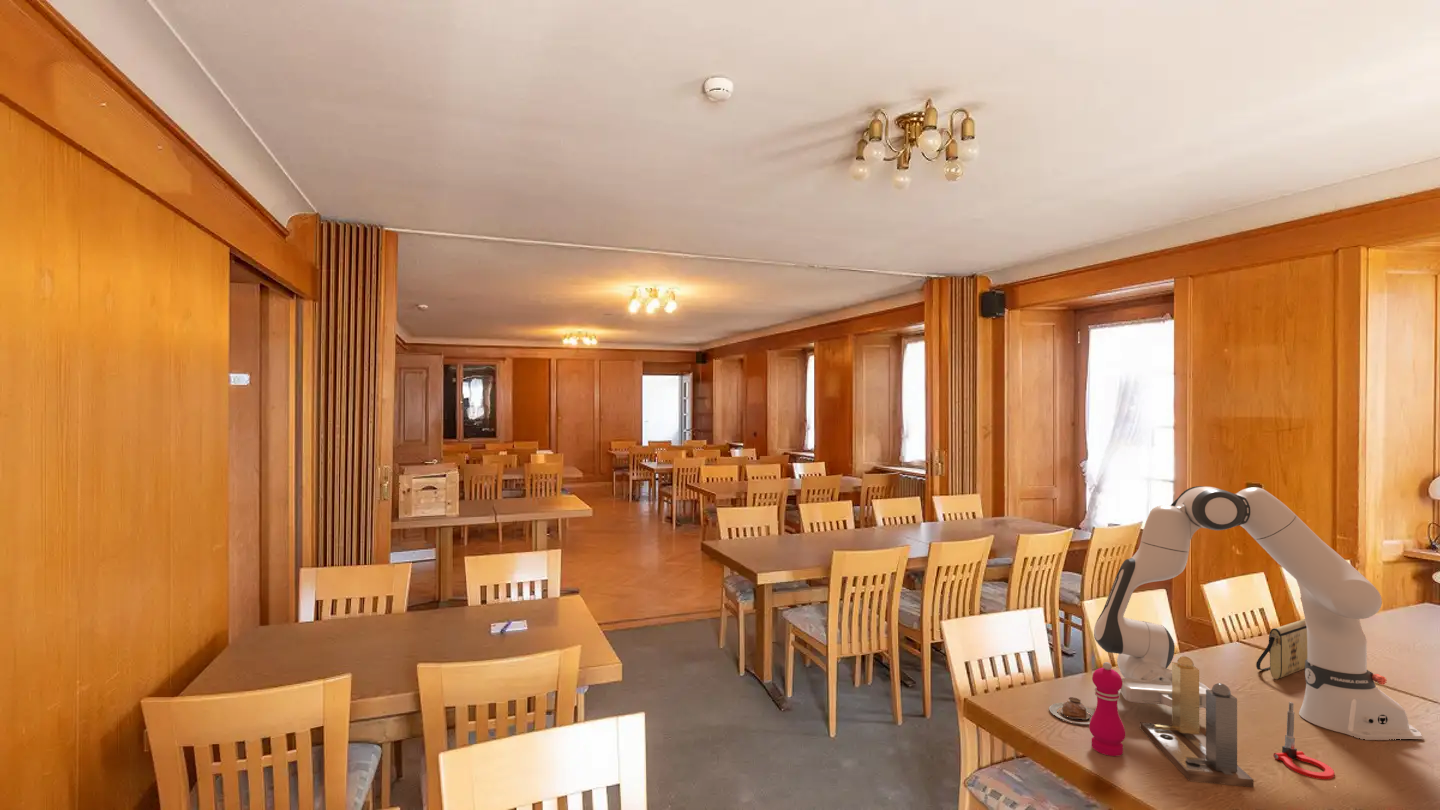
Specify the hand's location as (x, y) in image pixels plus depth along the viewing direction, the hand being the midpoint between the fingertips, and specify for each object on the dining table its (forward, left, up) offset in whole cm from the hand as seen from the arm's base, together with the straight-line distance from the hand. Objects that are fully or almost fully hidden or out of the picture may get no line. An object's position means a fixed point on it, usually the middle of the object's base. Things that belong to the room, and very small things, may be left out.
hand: (1181, 706), depth 161 cm
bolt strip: (+4, +9, -6) cm, 12 cm away
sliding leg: (+2, +2, -5) cm, 6 cm away
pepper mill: (+20, +10, -7) cm, 24 cm away
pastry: (+21, -7, -8) cm, 24 cm away
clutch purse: (-52, -53, -7) cm, 75 cm away
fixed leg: (+2, +17, -5) cm, 18 cm away
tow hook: (-20, +10, -7) cm, 24 cm away
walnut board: (+2, +10, -7) cm, 12 cm away
